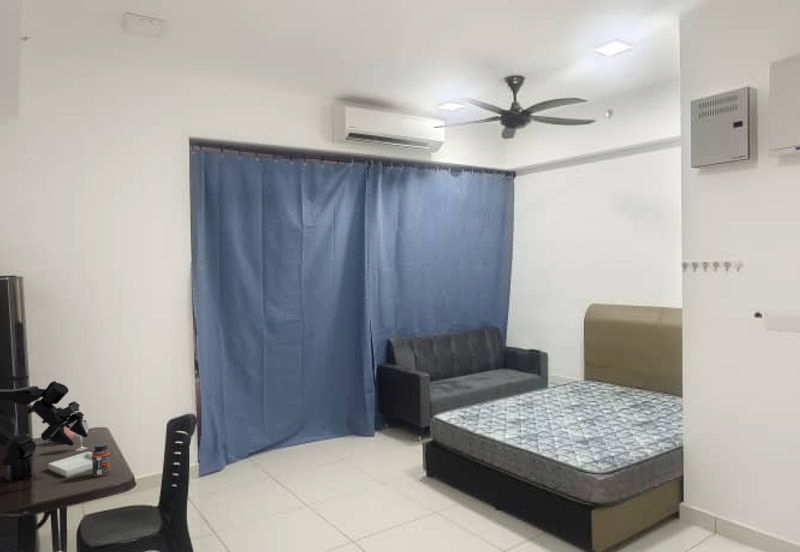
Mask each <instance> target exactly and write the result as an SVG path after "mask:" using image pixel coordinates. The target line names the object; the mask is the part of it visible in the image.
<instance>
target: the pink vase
mask: <svg viewBox="0 0 800 552" xmlns="http://www.w3.org/2000/svg"><path fill="white" fill-rule="evenodd" d="M69 429H70V428H67V427H64V432H65V434H66V435H67V436H68V437H69V438H70V439H71V440H74V438H75V435H74V434H73V432H72V431H70V430H69Z"/></svg>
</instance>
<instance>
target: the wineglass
mask: <svg viewBox="0 0 800 552" xmlns="http://www.w3.org/2000/svg"><path fill="white" fill-rule="evenodd" d="M82 424H83V427H84V429H85V431H86V433H87V434H88V432H89V425H88V421H87V420H86V419H82ZM73 434H74V437H79V441H80V447H78V448H76V449H75V451H76V452H82V450H83V451H86V450H87V449H88V447H86V446H83V436H81V435H78V434H76V433H74V432H73ZM85 449H86V450H85Z"/></svg>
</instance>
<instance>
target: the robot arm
mask: <svg viewBox="0 0 800 552" xmlns="http://www.w3.org/2000/svg"><path fill="white" fill-rule="evenodd" d="M68 392H69V388H68V386H66V385H65V384H63V383H61V382H60V383H59V382H57V381H55V380H54V381H53V380H52V381H51V382H50V383H49V384H48V385H47V387H45V388H39V386H37V385H30V386H25V387H21V388H15V389H13V388H12V389H9V388H8V389H6V388H4V389H3V388H1V389H0V402H12V403H13V404H16V405H20V406H26V405H29V406H27V411H26V414H27V415H30V414H33V413H35V414H36V415H37V416H38V417H39V418H40V419H42V421H41V423H42V424H47V425H48V426H47V428H45V430H43V432H42V433H41V434H40V438H41V439H42V440H43V441H44V442H47V441H48V442H54V443H59V444H63V445H67V446H70V447H72V446H74V445H75V442H74V441H73V439H70V438H69V437H68V436H67V435H66V434H65V432H64V427H67V428H70V429H69V430H70V431H72V432H74V433H76V434H78V435H81V436H82V438H85V439H86V438H87V437H89V436H88V432H87V433H86V431H85V429H84V427H83V424H82V420H84V416H85V415H84V413H83V412H82V411H80V404H79V403H78V402H76V401H75V400H74V401H71V402H70V403H68V406H66V407H61V406H60V407H57V406H56V405H57V404H59V402H61V401H62V400H63V398H64V397H66V395H67V394H68ZM32 403H33V404H32ZM30 404H32V405H30ZM0 445H1V446H2V447H3V449H4V452H5V453H6V456H5V457H4V458H3V459H2V464H3V465H4V466H5V467H6V469H7V476H5V479H6V480H8V481H10V482H12V483H15V482H17V481H21V480H24V479H27V478H31V477H32V476H33V474H32V462H31V461H30V458H32V457H33V453H34V452H36V448H37V447H36V442H35V441H34V438H32V437H30V436H28V434H27V433H26V434H25V433H24V432H23V433H20V435H16V434H14V433H12V432H10V431H9V430H7V429H6V428H5V427H3V426H1V425H0Z"/></svg>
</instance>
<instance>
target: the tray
mask: <svg viewBox="0 0 800 552" xmlns="http://www.w3.org/2000/svg"><path fill="white" fill-rule="evenodd" d="M92 453H93V451H92V452H91V451H85V452H82V453H78V454H75V455H72V456H68V457H65V458H61V459H59V460H55V461H52V462H48V470H49V471H51V472H53V473H55V474H58V475H60V476H63V477H64V478H71V477H73V476H77V475H79V474H82V473H86V472H89V471H91V470H92V471H93V465H92Z"/></svg>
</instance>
